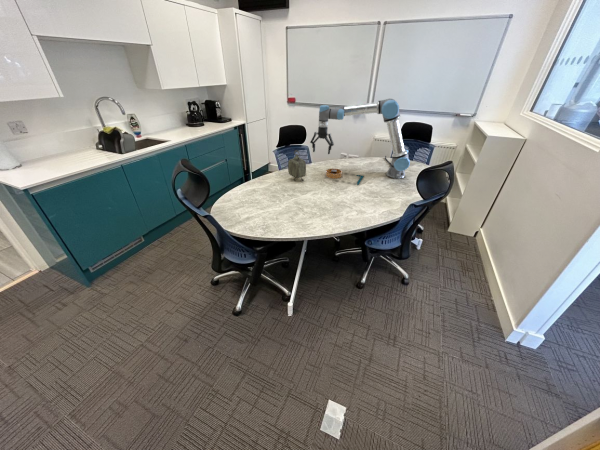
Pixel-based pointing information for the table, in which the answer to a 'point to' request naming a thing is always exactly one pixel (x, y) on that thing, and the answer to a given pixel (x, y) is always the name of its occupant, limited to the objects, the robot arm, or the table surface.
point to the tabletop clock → (297, 167)
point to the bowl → (337, 175)
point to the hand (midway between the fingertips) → (321, 152)
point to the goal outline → (359, 179)
